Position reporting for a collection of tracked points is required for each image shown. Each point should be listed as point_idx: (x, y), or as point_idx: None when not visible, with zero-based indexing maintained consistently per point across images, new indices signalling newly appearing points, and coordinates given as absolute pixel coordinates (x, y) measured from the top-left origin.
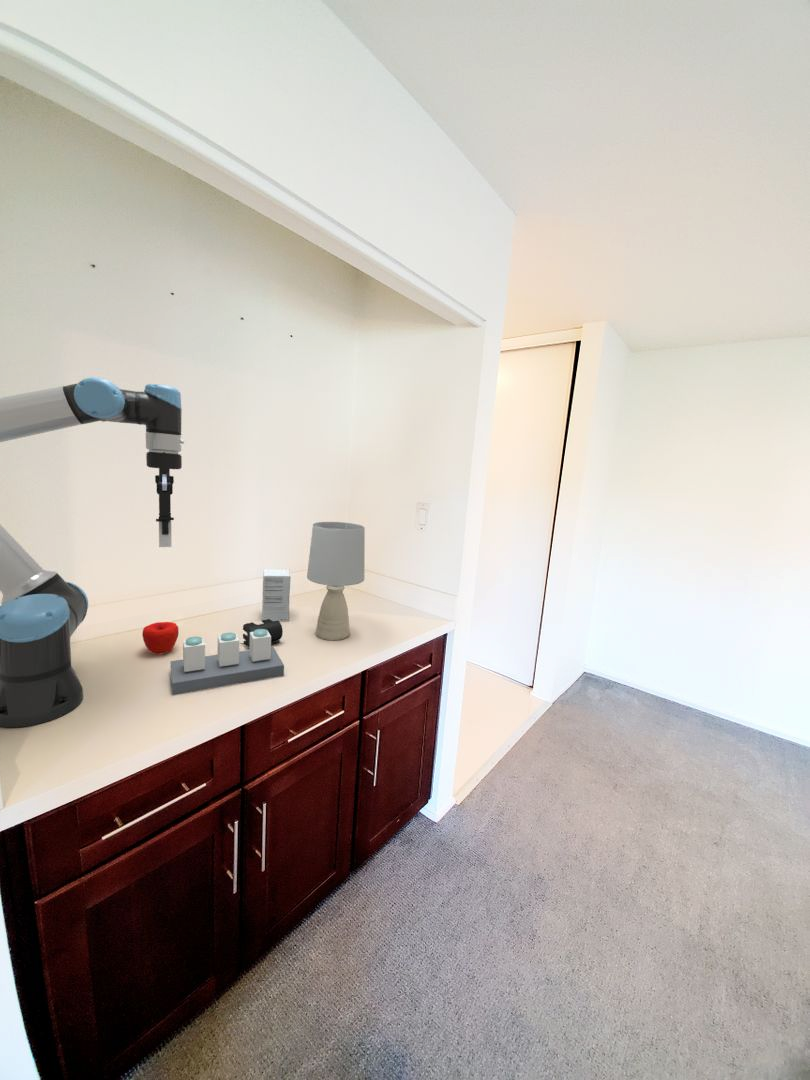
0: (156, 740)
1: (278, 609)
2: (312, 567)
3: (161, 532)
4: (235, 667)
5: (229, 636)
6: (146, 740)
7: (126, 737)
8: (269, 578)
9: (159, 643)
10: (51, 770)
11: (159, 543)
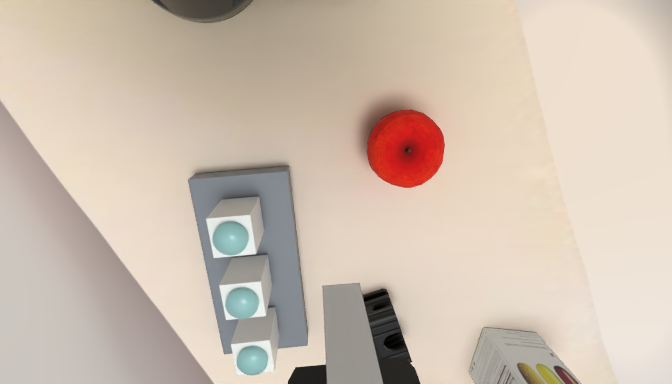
0: (56, 159)
1: (486, 376)
2: None
3: (325, 370)
4: None
5: (234, 307)
6: (57, 145)
7: (70, 115)
8: None
9: (367, 146)
10: None
11: (323, 301)
